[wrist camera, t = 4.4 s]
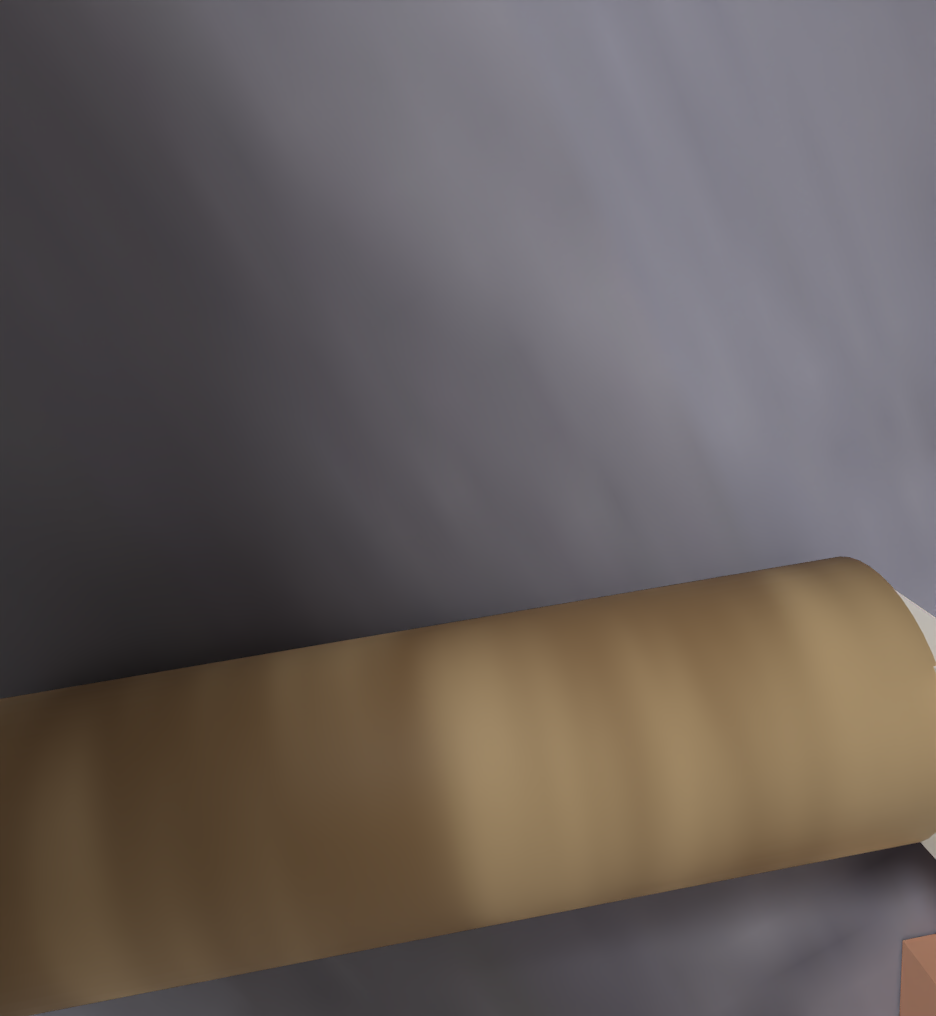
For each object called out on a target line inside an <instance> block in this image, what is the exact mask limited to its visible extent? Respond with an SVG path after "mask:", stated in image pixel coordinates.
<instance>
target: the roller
mask: <svg viewBox="0 0 936 1016" xmlns="http://www.w3.org/2000/svg"><path fill="white" fill-rule="evenodd" d="M933 666H936V661H935V659H934V656H933V654H932V651H931V649H930V647H929V645H928V643H927V641H926V639H925V637H924V634H923V632H922V631H921V629H920V627H919V625H918V624H917V622H916V620H915V618H914V616H913V615H912V613H911V612H910V610H909V609H908V607H907V606H906V604H905V603H904V601H903V600H902V599H901V597H900V596H899V595H898V594H897V592H896V591H895V590H894V589H893V587H892V586H891V585H890V584H889V583H888V582H887V581H886V580H885V579H884V578H883V577H882V576H881V575H880V574H879V573H877V572H876V571H875V570H873V569H872V568H871V567H870V566H868V565H866V564H864V563H863V562H861V561H859V560H856V559H853V558H850V557H834V558H829V559H823V560H817V561H811V562H805V563H799V564H793V565H787V566H781V567H775V568H770V569H764V570H758V571H752V572H746V573H740V574H734V575H728V576H722V577H716V578H711V579H705V580H699V581H693V582H687V583H681V584H675V585H669V586H663V587H657V588H652V589H646V590H640V591H634V592H628V593H622V594H616V595H610V596H604V597H599V598H593V599H587V600H581V601H575V602H569V603H563V604H557V605H551V606H545V607H540V608H534V609H528V610H522V611H516V612H510V613H504V614H498V615H492V616H486V617H481V618H475V619H469V620H463V621H457V622H451V623H445V624H439V625H433V626H427V627H422V628H416V629H410V630H404V631H398V632H392V633H386V634H380V635H374V636H368V637H363V638H357V639H351V640H345V641H339V642H333V643H327V644H321V645H315V646H309V647H304V648H298V649H292V650H286V651H280V652H274V653H268V654H262V655H256V656H250V657H245V658H239V659H233V660H227V661H221V662H215V663H209V664H203V665H197V666H192V667H186V668H180V669H174V670H168V671H162V672H156V673H150V674H144V675H138V676H133V677H127V678H121V679H115V680H109V681H103V682H97V683H91V684H85V685H79V686H74V687H68V688H62V689H56V690H50V691H44V692H38V693H32V694H26V695H20V696H15V697H9V698H3V699H0V1016H29V1015H34V1014H39V1013H44V1012H49V1011H55V1010H60V1009H65V1008H70V1007H75V1006H80V1005H85V1004H91V1003H96V1002H101V1001H106V1000H111V999H116V998H121V997H127V996H132V995H137V994H142V993H147V992H152V991H157V990H163V989H168V988H173V987H178V986H183V985H188V984H193V983H198V982H204V981H209V980H214V979H219V978H224V977H229V976H234V975H240V974H245V973H250V972H255V971H260V970H265V969H270V968H276V967H281V966H286V965H291V964H296V963H301V962H306V961H312V960H317V959H322V958H327V957H332V956H337V955H342V954H348V953H353V952H358V951H363V950H368V949H373V948H378V947H383V946H389V945H394V944H399V943H404V942H409V941H414V940H419V939H425V938H430V937H435V936H440V935H445V934H450V933H455V932H461V931H466V930H471V929H476V928H481V927H486V926H491V925H497V924H502V923H507V922H512V921H517V920H522V919H527V918H533V917H538V916H543V915H548V914H553V913H558V912H563V911H569V910H574V909H579V908H584V907H589V906H594V905H599V904H604V903H610V902H615V901H620V900H625V899H630V898H635V897H640V896H646V895H651V894H656V893H661V892H666V891H671V890H676V889H682V888H687V887H692V886H697V885H702V884H707V883H712V882H718V881H723V880H728V879H733V878H738V877H743V876H748V875H754V874H759V873H764V872H769V871H774V870H779V869H784V868H789V867H795V866H800V865H805V864H810V863H815V862H820V861H825V860H831V859H836V858H841V857H846V856H851V855H856V854H861V853H867V852H872V851H877V850H882V849H887V848H892V847H897V846H903V845H908V844H913V843H918V842H921V841H924V840H926V839H929V838H930V837H931V836H932V835H933V834H935V833H936V672H935V670H934V667H933Z"/></svg>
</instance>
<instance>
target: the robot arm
mask: <svg viewBox="0 0 936 1016" xmlns="http://www.w3.org/2000/svg"><path fill="white" fill-rule="evenodd" d="M895 591H896V590H895ZM896 592H897V591H896ZM897 594H898V595H899V596H900V597H901V599H902V600H903V601H904V603H905V604H906V606H907V607H908V609H909V610H910V612H911V613H912V615H913V616H914V618H915V620H916V622H917V624H918V625H919V627H920V629H921V631H922V632H923V634H924V637H925V639H926V641H927V643H928V645H929V647H930V649H931V651H932V654H933V656H934V659H935V661H936V618H935V617H934V616H932V615H931V614H929V613H928V612H926V611H925V610H924V609H922V608H921V607H919V606H918V605H916V604H915V603H913V602H912V601H910V600H909V599H908V598H906V597H905V596H903V595H902V594H900V593H899V592H897ZM933 667H934V670H935V672H936V666H933ZM921 844H922V845H923V846H924V847H925V848H926V849H927V850H928V851H929V852H930V853H931V855H932V856H933V857H934V858H935V859H936V833H935V834H933V835H932V836H931V837H930V838H929V839H926V840H924V841H921Z"/></svg>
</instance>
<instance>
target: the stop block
mask: <svg viewBox="0 0 936 1016" xmlns="http://www.w3.org/2000/svg"><path fill="white" fill-rule="evenodd" d="M900 1016H936V934H932V935H927V936H922V937H917V938H913V939H908V940H903V946H902V970H901V994H900Z"/></svg>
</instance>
